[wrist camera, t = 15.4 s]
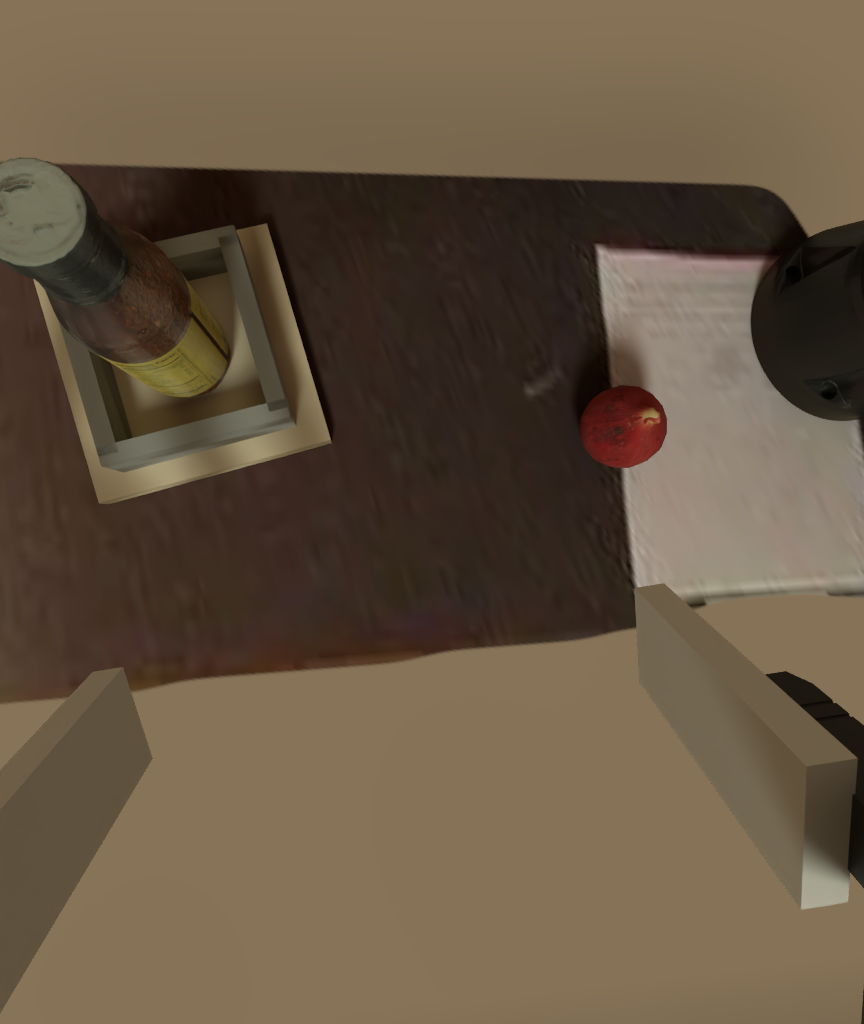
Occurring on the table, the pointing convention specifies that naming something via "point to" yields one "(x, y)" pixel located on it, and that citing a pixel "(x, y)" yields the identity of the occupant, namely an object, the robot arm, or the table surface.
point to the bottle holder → (212, 416)
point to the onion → (623, 426)
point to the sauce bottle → (108, 282)
